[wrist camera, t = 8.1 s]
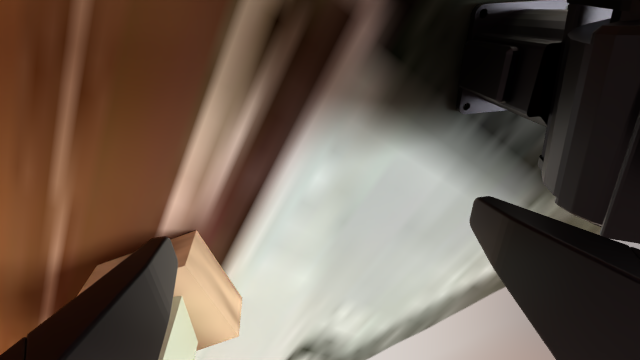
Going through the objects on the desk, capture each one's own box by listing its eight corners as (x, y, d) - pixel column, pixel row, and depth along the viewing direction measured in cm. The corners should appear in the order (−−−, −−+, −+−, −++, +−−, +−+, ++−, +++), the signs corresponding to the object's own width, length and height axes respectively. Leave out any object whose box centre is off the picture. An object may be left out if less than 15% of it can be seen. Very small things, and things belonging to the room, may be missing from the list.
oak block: (197, 227, 24) (185, 265, 20) (242, 294, 28) (238, 336, 24) (99, 262, 24) (70, 305, 21) (157, 324, 28) (142, 369, 24)
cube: (182, 295, 21) (160, 368, 17) (198, 342, 24) (182, 416, 20) (103, 306, 21) (60, 384, 17) (128, 352, 23) (96, 431, 19)
